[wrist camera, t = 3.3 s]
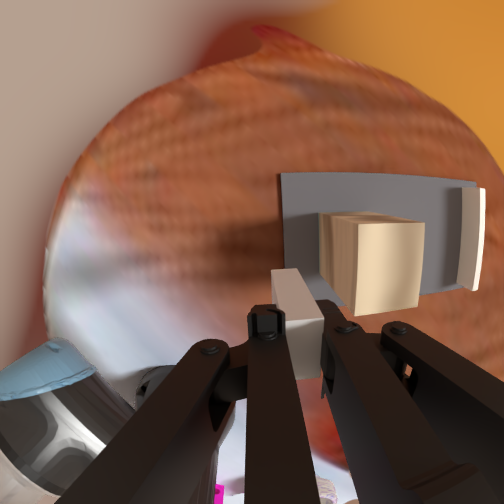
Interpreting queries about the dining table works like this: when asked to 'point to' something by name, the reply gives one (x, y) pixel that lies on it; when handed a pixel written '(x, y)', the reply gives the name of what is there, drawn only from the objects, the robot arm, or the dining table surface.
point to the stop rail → (471, 237)
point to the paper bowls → (326, 491)
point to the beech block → (371, 259)
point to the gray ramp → (378, 201)
